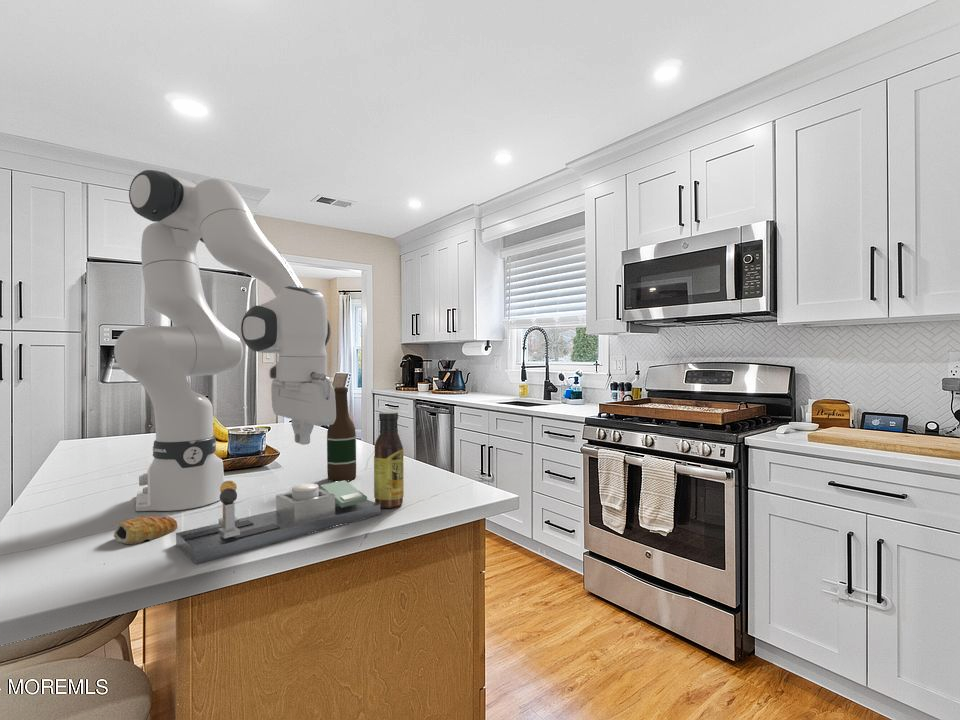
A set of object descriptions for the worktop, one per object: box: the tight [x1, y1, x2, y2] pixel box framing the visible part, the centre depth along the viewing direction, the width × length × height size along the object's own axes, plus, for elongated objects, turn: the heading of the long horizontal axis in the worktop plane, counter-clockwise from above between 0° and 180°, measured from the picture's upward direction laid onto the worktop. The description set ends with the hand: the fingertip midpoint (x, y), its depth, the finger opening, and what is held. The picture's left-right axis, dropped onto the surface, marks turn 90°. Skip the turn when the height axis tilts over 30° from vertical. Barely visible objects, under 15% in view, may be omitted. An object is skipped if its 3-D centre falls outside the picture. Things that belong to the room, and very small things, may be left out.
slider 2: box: [218, 488, 240, 538], centre depth 83 cm, size 3×3×8 cm
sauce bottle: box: [373, 411, 405, 509], centre depth 108 cm, size 7×6×20 cm
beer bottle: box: [326, 386, 357, 482], centre depth 132 cm, size 8×8×24 cm
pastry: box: [113, 515, 178, 545], centre depth 91 cm, size 9×7×4 cm
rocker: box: [319, 480, 368, 508], centre depth 102 cm, size 9×6×1 cm, turn 45°
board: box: [175, 487, 381, 565], centre depth 93 cm, size 12×34×6 cm, turn 135°
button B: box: [291, 483, 320, 501], centre depth 96 cm, size 5×5×4 cm
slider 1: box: [218, 480, 240, 526], centre depth 88 cm, size 3×3×8 cm
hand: (302, 443), depth 96 cm, fingers closed
